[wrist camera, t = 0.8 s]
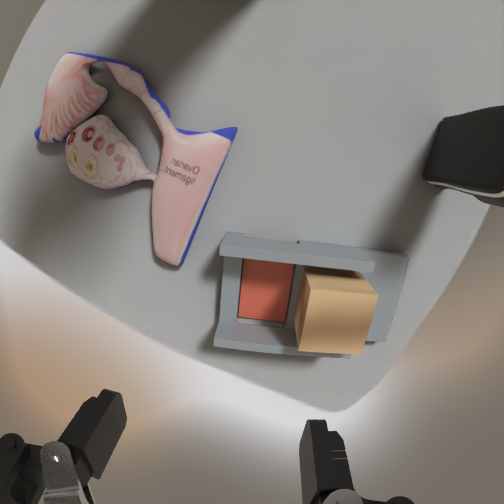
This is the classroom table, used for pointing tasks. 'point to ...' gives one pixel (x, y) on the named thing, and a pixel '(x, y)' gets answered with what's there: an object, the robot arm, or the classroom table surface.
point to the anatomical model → (133, 149)
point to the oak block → (333, 311)
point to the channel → (294, 289)
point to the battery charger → (470, 155)
